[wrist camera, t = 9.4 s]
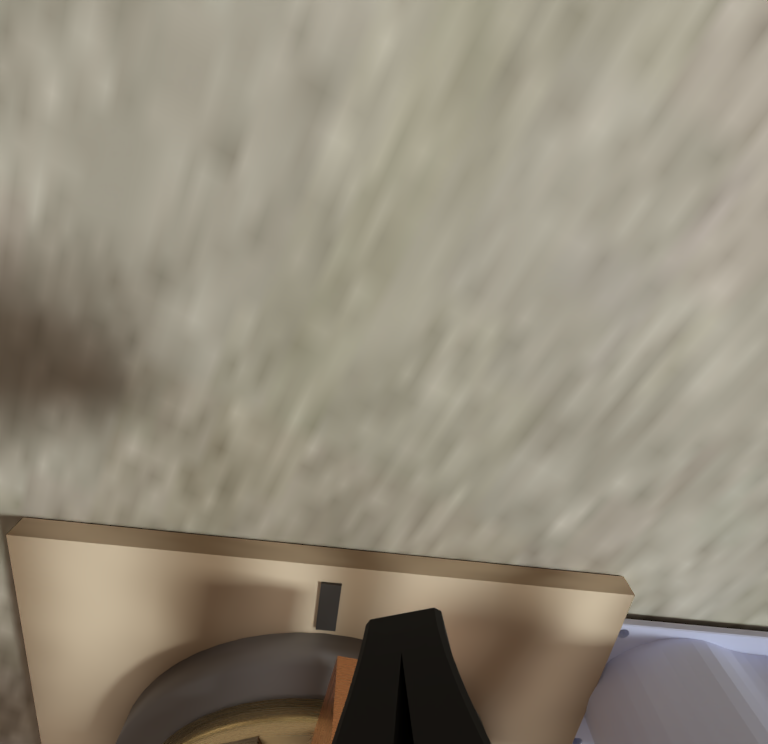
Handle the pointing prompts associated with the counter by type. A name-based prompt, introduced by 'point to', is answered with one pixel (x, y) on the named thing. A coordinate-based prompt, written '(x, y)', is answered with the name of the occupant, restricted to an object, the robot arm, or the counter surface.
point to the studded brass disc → (275, 717)
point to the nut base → (285, 628)
